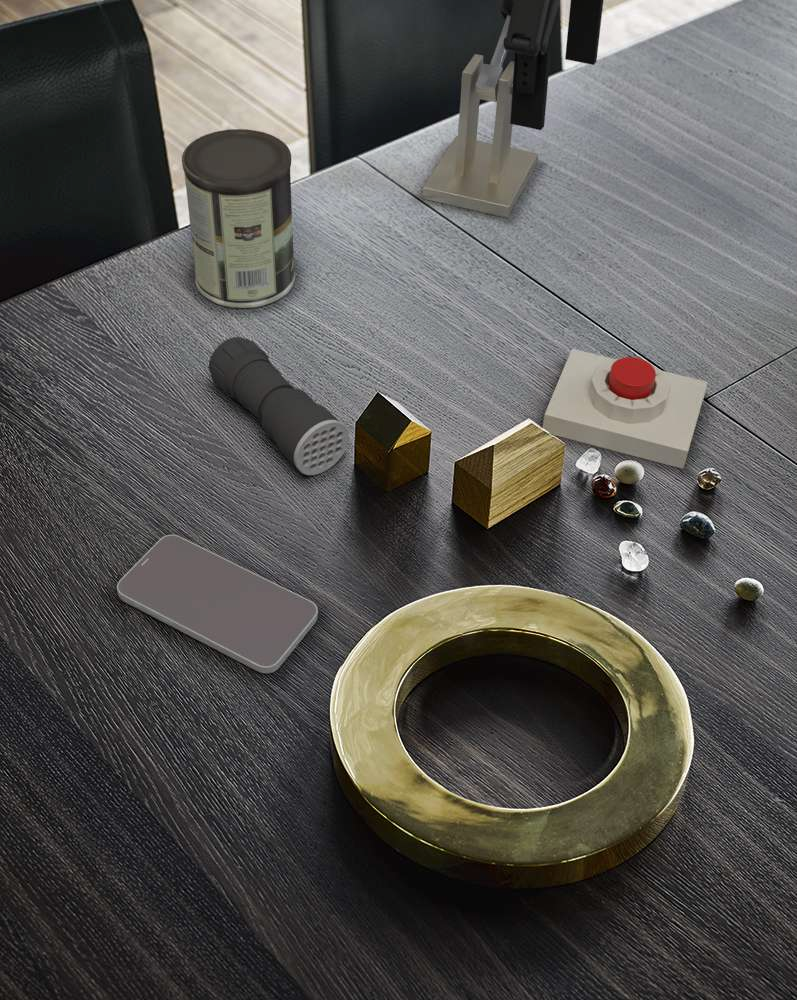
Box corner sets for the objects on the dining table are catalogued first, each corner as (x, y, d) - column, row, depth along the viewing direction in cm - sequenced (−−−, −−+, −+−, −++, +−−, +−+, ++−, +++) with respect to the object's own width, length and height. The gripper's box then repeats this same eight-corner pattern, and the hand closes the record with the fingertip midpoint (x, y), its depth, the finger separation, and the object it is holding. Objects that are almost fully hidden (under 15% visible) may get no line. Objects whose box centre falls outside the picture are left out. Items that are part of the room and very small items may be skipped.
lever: (506, 0, 139) (505, -22, 136) (537, 6, 138) (537, -16, 135) (471, 100, 136) (468, 80, 132) (502, 107, 135) (501, 87, 132)
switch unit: (455, 146, 148) (463, 34, 138) (537, 164, 146) (551, 51, 136) (422, 199, 140) (428, 83, 130) (508, 218, 138) (521, 102, 128)
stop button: (656, 377, 114) (660, 363, 113) (647, 405, 111) (650, 390, 110) (613, 367, 115) (616, 352, 114) (603, 394, 112) (606, 379, 111)
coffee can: (256, 238, 133) (250, 117, 123) (315, 284, 128) (313, 162, 118) (174, 272, 129) (160, 149, 119) (231, 322, 123) (221, 198, 113)
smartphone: (270, 672, 93) (110, 589, 98) (270, 680, 94) (111, 597, 99) (323, 606, 98) (168, 530, 102) (323, 613, 98) (169, 537, 103)
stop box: (703, 399, 118) (712, 366, 115) (683, 469, 111) (692, 436, 108) (568, 366, 120) (574, 333, 118) (541, 432, 114) (546, 399, 111)
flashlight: (205, 389, 116) (200, 343, 112) (254, 367, 119) (251, 322, 115) (297, 484, 108) (296, 438, 104) (348, 459, 110) (349, 413, 107)
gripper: (586, -226, 103) (562, 29, 117) (469, -139, 86) (458, 145, 101) (675, -216, 100) (639, 43, 115) (572, -124, 84) (546, 165, 98)
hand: (554, 92), depth 108 cm, fingers open, 13 cm apart
